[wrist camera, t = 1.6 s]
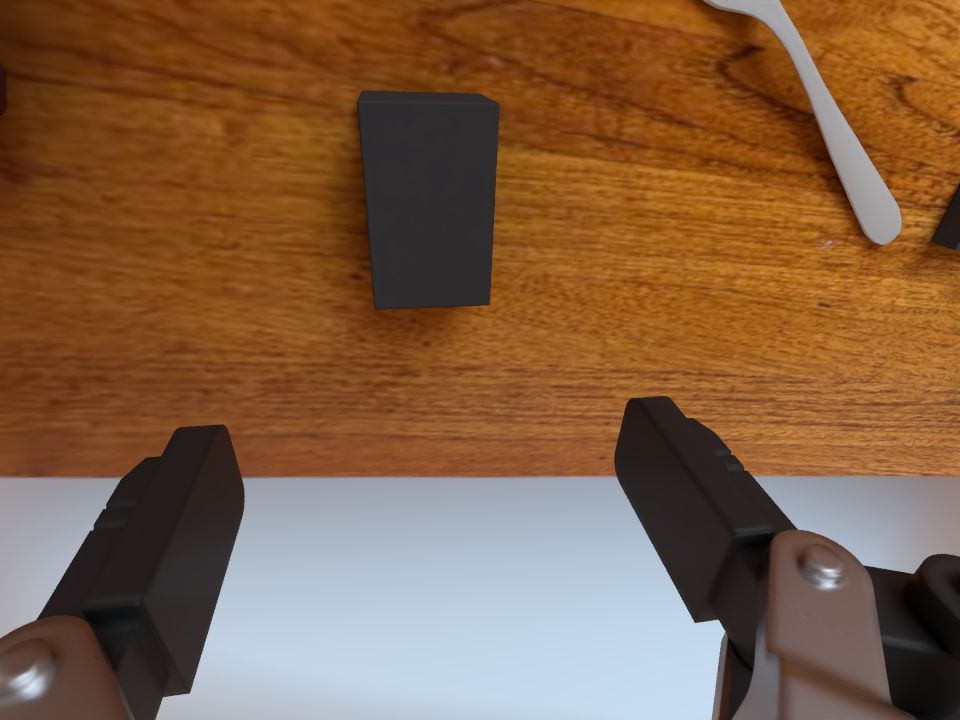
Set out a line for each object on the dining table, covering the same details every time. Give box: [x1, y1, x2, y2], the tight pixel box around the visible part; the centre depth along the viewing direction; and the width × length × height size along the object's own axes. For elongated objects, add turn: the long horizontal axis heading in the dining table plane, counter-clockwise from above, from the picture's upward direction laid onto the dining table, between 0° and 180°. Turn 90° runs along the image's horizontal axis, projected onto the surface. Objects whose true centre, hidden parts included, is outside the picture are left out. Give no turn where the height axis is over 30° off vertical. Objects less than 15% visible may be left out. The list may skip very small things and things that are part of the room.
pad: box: [357, 91, 499, 310], centre depth 21 cm, size 8×5×4 cm, turn 178°
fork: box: [703, 0, 902, 245], centre depth 22 cm, size 3×24×2 cm, turn 48°
